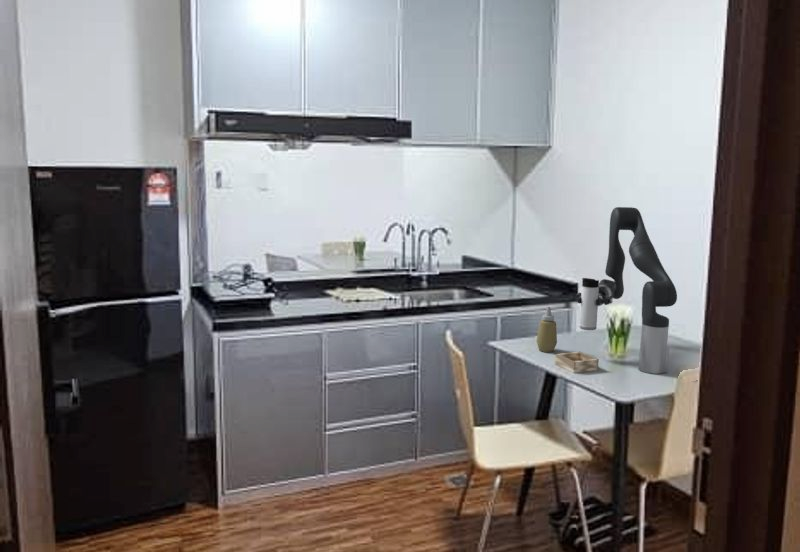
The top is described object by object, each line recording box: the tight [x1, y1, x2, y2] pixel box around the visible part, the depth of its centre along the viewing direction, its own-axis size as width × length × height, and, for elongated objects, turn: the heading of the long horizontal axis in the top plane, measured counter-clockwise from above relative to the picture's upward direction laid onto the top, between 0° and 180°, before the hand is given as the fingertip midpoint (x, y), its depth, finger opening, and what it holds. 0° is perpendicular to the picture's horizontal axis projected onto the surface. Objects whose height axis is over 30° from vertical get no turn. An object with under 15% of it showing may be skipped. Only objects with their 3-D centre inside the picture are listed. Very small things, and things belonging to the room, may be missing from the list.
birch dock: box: [554, 351, 599, 374], centre depth 256 cm, size 11×11×4 cm
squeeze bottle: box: [536, 306, 558, 353], centre depth 278 cm, size 8×8×18 cm
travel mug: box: [579, 277, 600, 331], centre depth 266 cm, size 6×7×20 cm
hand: (587, 301), depth 264 cm, fingers closed on travel mug, 6 cm apart
